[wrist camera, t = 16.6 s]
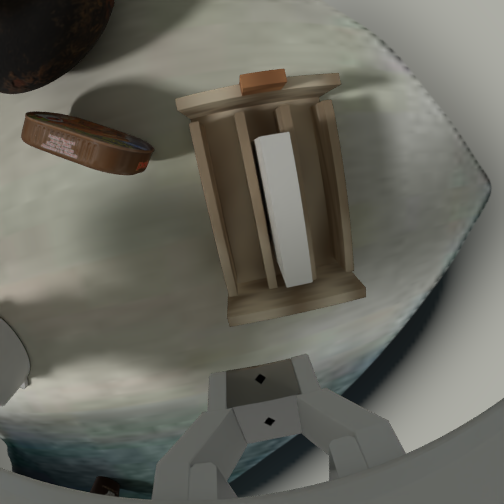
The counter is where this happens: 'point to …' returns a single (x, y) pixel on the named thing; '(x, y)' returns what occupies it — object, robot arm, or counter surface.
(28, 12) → the glass bottle
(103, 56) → the counter surface
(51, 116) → the tin
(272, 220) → the panel
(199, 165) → the rack
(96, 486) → the coffee mug
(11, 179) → the counter surface
